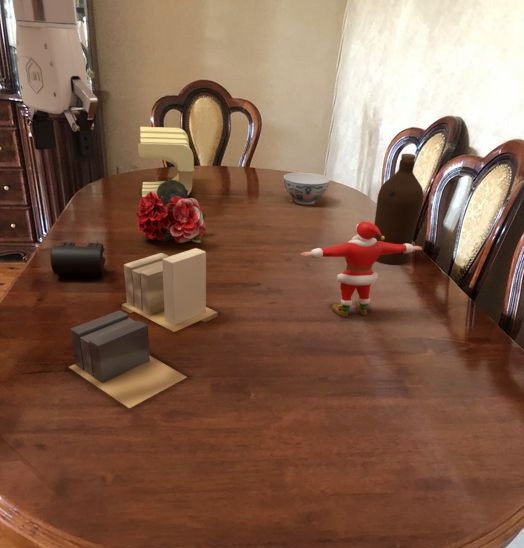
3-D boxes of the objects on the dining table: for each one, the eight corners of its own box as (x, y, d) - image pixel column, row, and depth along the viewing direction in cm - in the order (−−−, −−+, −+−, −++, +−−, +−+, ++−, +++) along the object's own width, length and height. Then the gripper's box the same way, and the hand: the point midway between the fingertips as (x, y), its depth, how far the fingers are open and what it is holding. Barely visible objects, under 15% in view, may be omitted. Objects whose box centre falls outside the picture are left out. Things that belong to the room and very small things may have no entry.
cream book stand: (121, 309, 101) (117, 265, 96) (165, 292, 108) (163, 250, 104) (174, 336, 93) (172, 290, 88) (217, 316, 100) (218, 273, 96)
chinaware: (297, 210, 165) (300, 185, 161) (273, 197, 176) (274, 174, 172) (336, 205, 172) (339, 181, 168) (310, 194, 183) (312, 171, 179)
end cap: (53, 282, 110) (48, 251, 106) (61, 268, 116) (57, 239, 112) (102, 282, 111) (99, 252, 107) (108, 269, 117) (105, 240, 113)
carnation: (168, 235, 160) (185, 274, 131) (118, 196, 151) (123, 228, 122) (201, 195, 157) (225, 226, 128) (152, 152, 148) (165, 175, 119)
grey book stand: (69, 372, 82) (62, 330, 78) (126, 346, 89) (123, 307, 85) (129, 413, 74) (125, 369, 70) (187, 382, 81) (186, 340, 77)
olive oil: (411, 268, 128) (435, 161, 115) (368, 263, 129) (386, 157, 116) (408, 253, 137) (429, 152, 124) (367, 248, 138) (384, 148, 125)
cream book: (164, 320, 96) (161, 258, 90) (196, 307, 101) (196, 247, 95) (174, 325, 94) (172, 262, 88) (206, 311, 100) (206, 251, 94)
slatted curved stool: (194, 205, 163) (193, 145, 154) (141, 205, 160) (137, 143, 151) (188, 181, 188) (188, 128, 179) (143, 180, 185) (140, 126, 176)
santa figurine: (400, 302, 111) (418, 214, 101) (414, 314, 106) (435, 224, 96) (288, 311, 104) (297, 219, 94) (298, 325, 99) (308, 229, 90)
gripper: (-17, 10, 69) (8, 147, 78) (57, 14, 60) (75, 169, 69) (37, 14, 74) (54, 142, 83) (111, 18, 65) (122, 162, 74)
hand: (64, 154), depth 76 cm, fingers open, 9 cm apart
